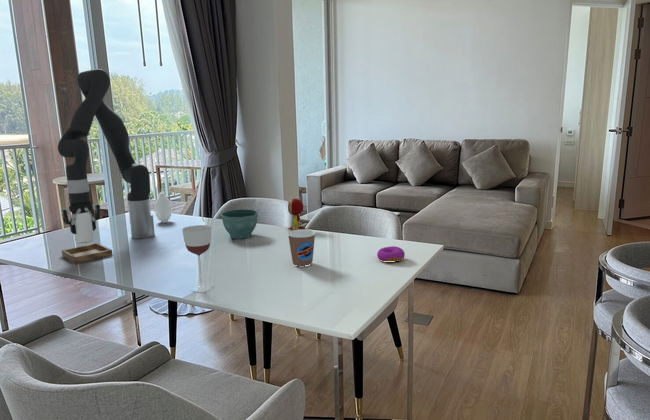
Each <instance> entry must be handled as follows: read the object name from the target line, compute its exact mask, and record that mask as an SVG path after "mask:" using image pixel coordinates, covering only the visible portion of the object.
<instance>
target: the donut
mask: <svg viewBox="0 0 650 420" xmlns="http://www.w3.org/2000/svg"><path fill="white" fill-rule="evenodd" d="M376 254H377V255H376V256H377V258H378V260H379V259H380V260H382V261H397V260H401V259H402V258H404V259H405V255H406V253H405V251H404V250H403V248H401V247H398V246H395V245H393V246H385V247H382V248H380V249H378V251H377V253H376ZM380 260H379V261H380ZM402 260H403V259H402ZM402 260H401V261H402Z"/></svg>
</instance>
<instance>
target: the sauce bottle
mask: <svg viewBox="0 0 650 420" xmlns="http://www.w3.org/2000/svg"><path fill="white" fill-rule="evenodd" d="M172 210H173V209H172V204H171V201H170V200H169V198H168V196H167V195H166V194H165V192H163V189H162V187H161V188H160V192H159V193H158V196H157V198H156V201H155V205H154V212H155V216H156V218H157V220H158V221H159V222H160V223H163V224H164V223H165V224H166V223H167V222H169V220H170V219H171V217H172V213H173V212H172Z"/></svg>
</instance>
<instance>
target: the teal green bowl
mask: <svg viewBox="0 0 650 420" xmlns="http://www.w3.org/2000/svg"><path fill="white" fill-rule="evenodd" d="M220 215H221V220H222V224H223V226H224V228H225V231H226V232H227V233H228V234H229V236H230V238H232V239H236V238H242V239H248V238H250V237H252V234H253V232H254V230H255V228H256V226H257V224H258V215H259V213H258V211H257V210H254V209H248V208H247V209H245V208H244V209H243V208H242V209H241V208H239V209H230V210H226V211H223V212H221V214H220ZM247 237H248V238H247Z"/></svg>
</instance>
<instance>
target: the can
mask: <svg viewBox="0 0 650 420" xmlns="http://www.w3.org/2000/svg"><path fill="white" fill-rule="evenodd" d="M73 217H74V215H73ZM74 225H75V227H76V234H74V236H75V242H76V243H77V244H87V243H90V242H93V241H94V240H95V237H94V231H93V227H92V219H91V215H90V214H89V211H88V212H85V213H77V216H76V220H75V224H74Z"/></svg>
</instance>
